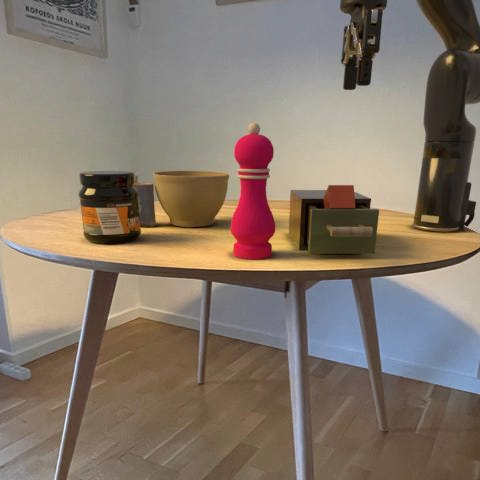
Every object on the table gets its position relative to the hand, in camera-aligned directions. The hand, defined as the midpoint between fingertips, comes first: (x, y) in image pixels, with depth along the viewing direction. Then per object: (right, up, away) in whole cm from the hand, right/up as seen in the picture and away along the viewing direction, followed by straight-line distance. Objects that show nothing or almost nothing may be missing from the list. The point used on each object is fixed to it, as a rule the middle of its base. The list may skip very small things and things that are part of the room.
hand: (355, 87), depth 81 cm
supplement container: (-44, -25, +7) cm, 51 cm away
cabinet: (-5, -26, +5) cm, 27 cm away
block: (-4, -24, -7) cm, 25 cm away
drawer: (-4, -29, -4) cm, 29 cm away
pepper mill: (-18, -30, -5) cm, 35 cm away
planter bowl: (-31, -20, +22) cm, 42 cm away
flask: (-43, -20, +21) cm, 51 cm away
